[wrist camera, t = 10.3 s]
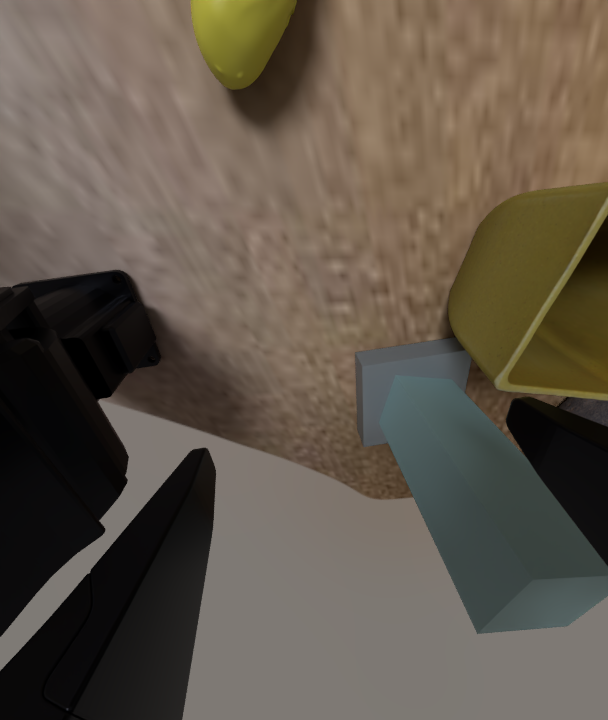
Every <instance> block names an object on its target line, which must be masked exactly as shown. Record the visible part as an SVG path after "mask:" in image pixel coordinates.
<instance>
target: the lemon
mask: <svg viewBox="0 0 608 720" xmlns="http://www.w3.org/2000/svg"><path fill="white" fill-rule="evenodd" d="M296 3H297V0H191V15H192V22H193V28H194V32H195V36H196V40H197V43H198V46H199V48H200V51H201V53H202V55H203V58H204V59H205V61H206V63H207V65H208V67H209V68H210V70H211V72H212V73H213V74H214V76H215V77H216V78H217V79H218V80H219V81H220V82H221V83H222V85H223V86H225V87H227V88H229V89H232V90H234V89H243V88H245V87H247V86H249V85H251V84H252V83H253V82H254V81H255V80H256V79H257V78H258V77H259V76H260V74H261V73H262V71H263V70H264V68H265V66H266V64H267V62H268V61H269V59H270V57H271V55H272V53H273V51H274V50H275V48H276V46H277V44H278V43H279V41H280V39H281V37H282V35H283V33H284V30H285V29H286V27H287V26H288V23H289V20H290V16H291V14H292V15H293V13H294V10H295V6H296Z"/></svg>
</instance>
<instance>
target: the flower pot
mask: <svg viewBox="0 0 608 720" xmlns="http://www.w3.org/2000/svg"><path fill="white" fill-rule="evenodd" d="M448 316H449V321H450V325H451V328H452V330H453V332H454V335H455V336H456V338H457V339H458V341H459V342H460V343H461V345H462V346H463V347H464V349H465V350H466V351H467V353H468V354H469V355H470V356H471V358H472V359H473V360H474V361H475V363H476V364H477V365H478V366H479V368H480V369H481V370H482V371H483V372H484V374H485V375H486V376H487V377H488V379H489V380H490V381H491V382H492V384H493V385H494V386H495V388H496V389H497V390H500V391H507V392H520V393H530V394H545V395H555V396H566V397H576V398H587V399H596V400H604V401H608V182H603V183H594V184H586V185H578V186H569V187H561V188H552V189H544V190H537V191H531V192H527V193H523V194H520V195H517V196H514V197H512V198H510V199H508V200H506V201H504V202H502V203H501V204H500V205H498V206H497V207H496V208H494V209H493V210H492V211H491V212H490V213H489V214H488V215H487V216H486V218H485V219H484V220H483V221H482V222H481V223H480V225H479V227H478V229H477V231H476V234H475V236H474V238H473V241H472V243H471V245H470V248H469V250H468V252H467V255H466V257H465V259H464V262H463V264H462V266H461V268H460V271H459V273H458V275H457V277H456V280H455V282H454V284H453V286H452V288H451V291H450V296H449V303H448Z"/></svg>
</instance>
